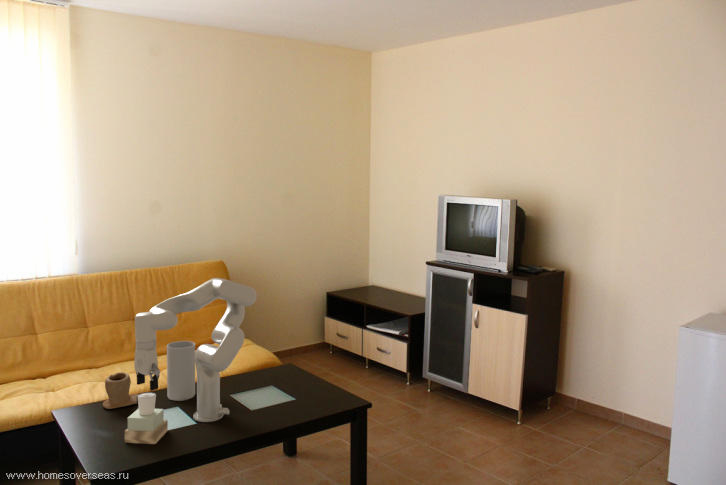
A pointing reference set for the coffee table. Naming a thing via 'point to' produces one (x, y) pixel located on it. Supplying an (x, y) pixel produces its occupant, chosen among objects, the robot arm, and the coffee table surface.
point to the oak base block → (146, 434)
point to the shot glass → (146, 403)
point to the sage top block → (145, 421)
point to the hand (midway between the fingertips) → (147, 386)
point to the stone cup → (119, 391)
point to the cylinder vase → (180, 370)
